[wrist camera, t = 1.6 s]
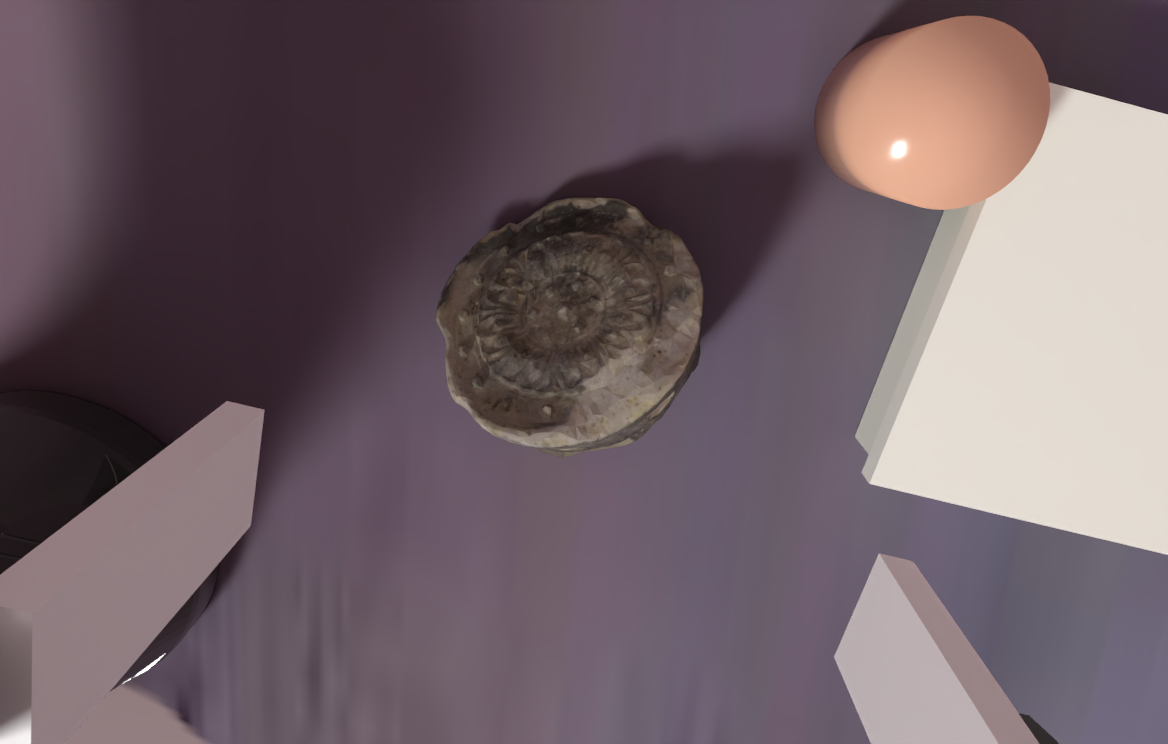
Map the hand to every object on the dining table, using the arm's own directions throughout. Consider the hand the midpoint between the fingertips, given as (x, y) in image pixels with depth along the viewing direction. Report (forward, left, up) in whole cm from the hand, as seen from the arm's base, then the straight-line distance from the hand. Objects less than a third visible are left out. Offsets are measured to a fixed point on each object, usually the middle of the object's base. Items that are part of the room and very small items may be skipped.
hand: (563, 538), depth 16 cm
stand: (+21, +5, -18) cm, 28 cm away
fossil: (0, 0, -19) cm, 19 cm away
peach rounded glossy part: (+10, +11, -18) cm, 24 cm away
